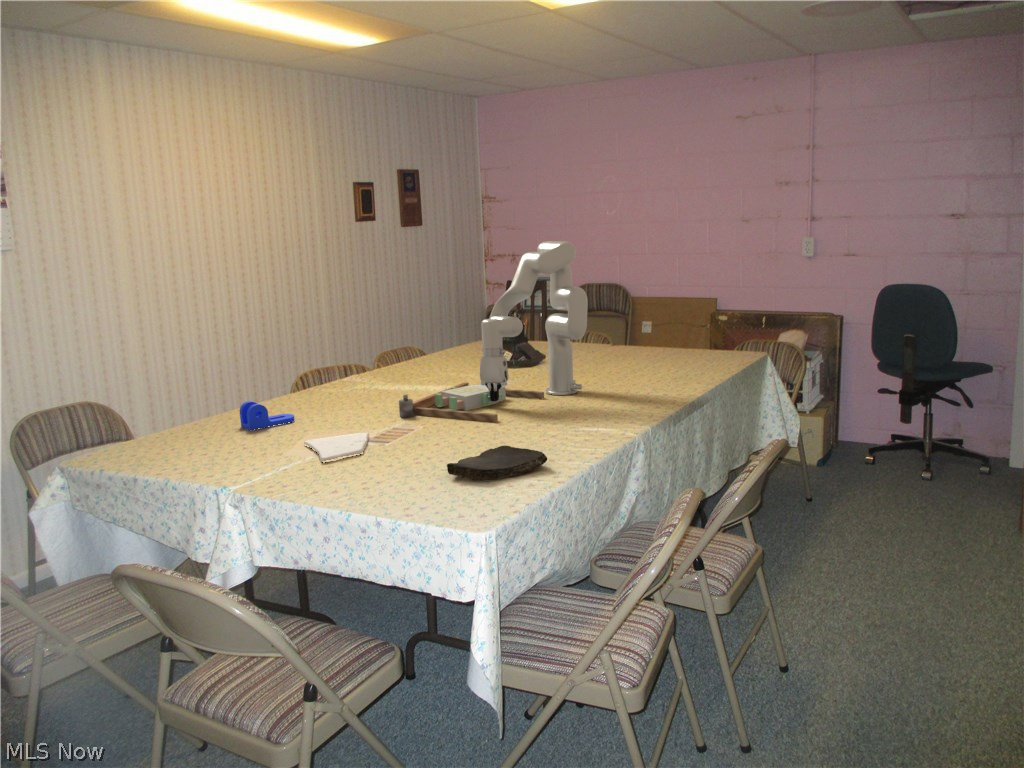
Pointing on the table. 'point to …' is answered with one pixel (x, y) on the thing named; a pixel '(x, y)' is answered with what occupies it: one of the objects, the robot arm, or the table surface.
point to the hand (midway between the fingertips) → (494, 400)
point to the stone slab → (498, 463)
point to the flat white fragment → (339, 445)
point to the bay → (426, 404)
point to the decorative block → (467, 397)
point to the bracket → (260, 416)
